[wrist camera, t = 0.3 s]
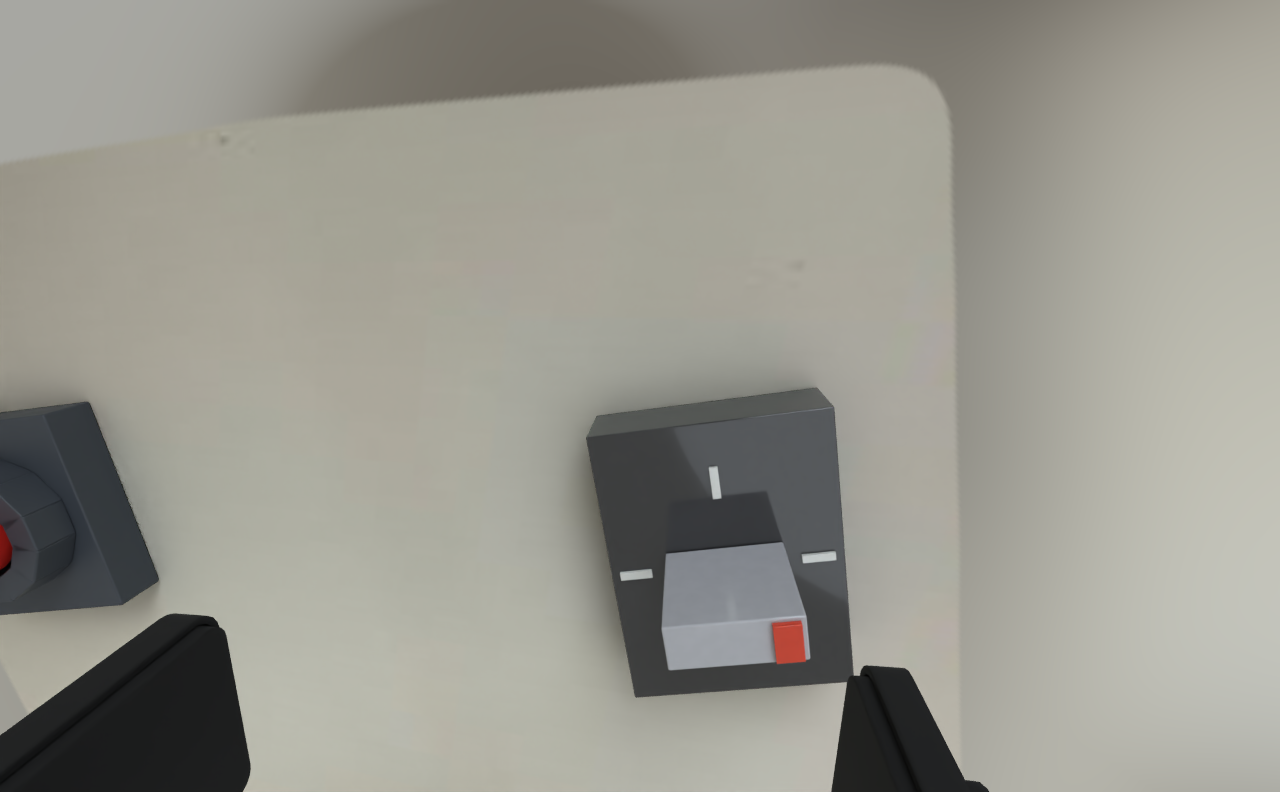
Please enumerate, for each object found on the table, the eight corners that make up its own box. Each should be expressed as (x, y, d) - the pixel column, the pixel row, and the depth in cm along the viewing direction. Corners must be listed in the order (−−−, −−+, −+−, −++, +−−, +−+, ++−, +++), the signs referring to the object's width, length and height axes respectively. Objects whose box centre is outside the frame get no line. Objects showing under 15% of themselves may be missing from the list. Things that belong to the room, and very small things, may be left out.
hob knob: (671, 589, 26) (667, 676, 21) (665, 553, 25) (660, 632, 20) (786, 578, 25) (812, 665, 20) (783, 541, 25) (808, 620, 20)
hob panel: (596, 415, 27) (585, 438, 24) (817, 387, 26) (835, 408, 23) (639, 653, 30) (634, 701, 27) (837, 637, 29) (855, 684, 26)
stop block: (-52, 418, 30) (-162, 446, 26) (89, 401, 29) (-3, 427, 25) (28, 592, 32) (-61, 640, 28) (160, 580, 31) (87, 629, 28)
